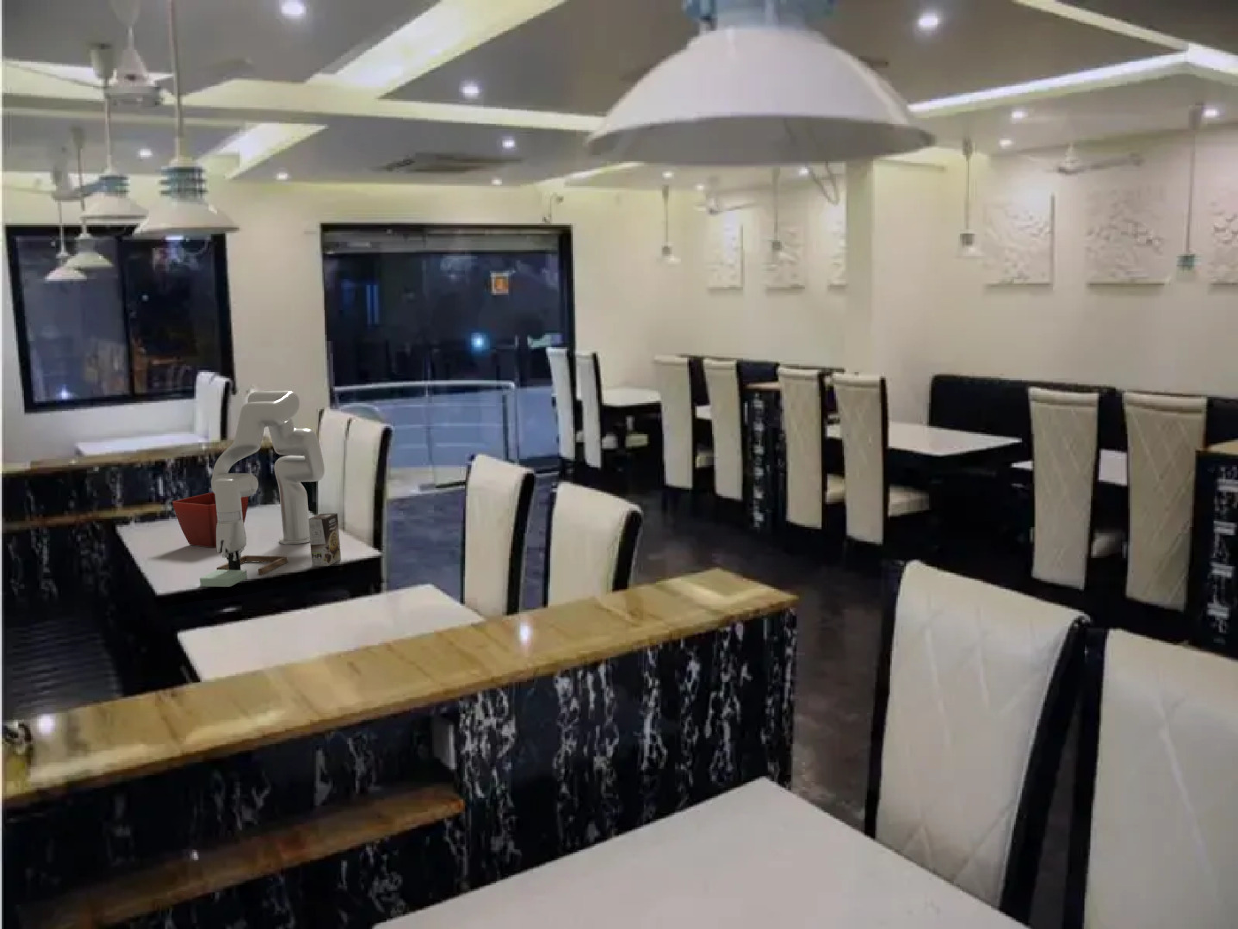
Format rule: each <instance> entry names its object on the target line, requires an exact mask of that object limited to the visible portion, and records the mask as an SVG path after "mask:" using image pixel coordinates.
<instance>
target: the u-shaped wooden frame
mask: <svg viewBox="0 0 1238 929" xmlns="http://www.w3.org/2000/svg"><path fill="white" fill-rule="evenodd" d="M245 561H259V562H258V563H267V564H265V565H263V566H262V567H259V568H258V569H257V572H258V576H263V575H265V574H266V573H269V572H271V571H272V570H275V569H276V568H278V567H280V565H281V566H282V564H283V565H285V564H287V563H288V556H284V555H256V554H255V555H253V554H252V555H250V554H249V555H248V554H247V555H246V554H244V555H241V558H240V565H242V564H244V563H246V562H245ZM243 562H244V563H243ZM241 563H242V564H241ZM216 570H229V564H228V562H226V563H224V564H222V565H219V566H217V567H216Z"/></svg>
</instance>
